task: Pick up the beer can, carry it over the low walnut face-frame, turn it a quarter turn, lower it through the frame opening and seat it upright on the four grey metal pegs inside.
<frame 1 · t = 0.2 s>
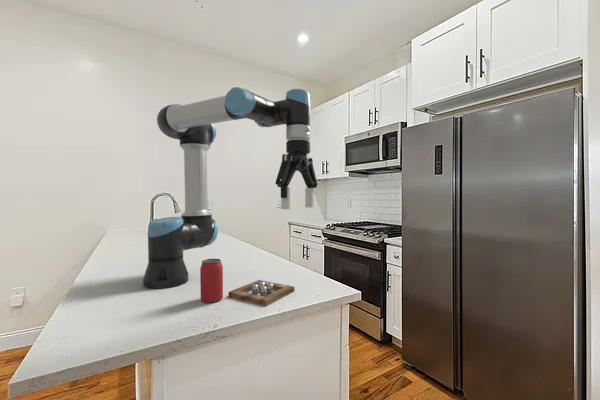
hand: (298, 208, 93), 28 cm above the counter, fingers open, 13 cm apart
peg stand: (262, 289, 95), in the face frame
face frame: (262, 293, 95), on the counter
beer can: (211, 300, 90), on the counter
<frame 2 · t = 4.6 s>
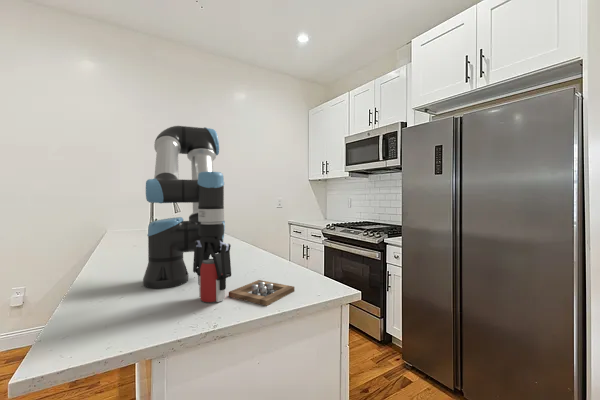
hand: (211, 298, 90), 0 cm above the counter, fingers closed on beer can, 7 cm apart
beer can: (211, 300, 90), on the counter, touching gripper
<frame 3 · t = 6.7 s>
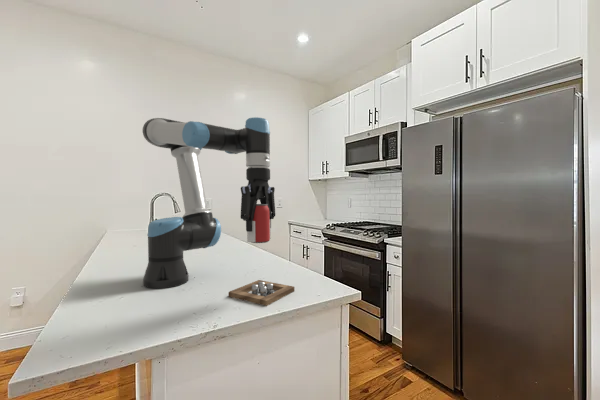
hand: (259, 240, 94), 17 cm above the counter, fingers closed on beer can, 7 cm apart
beer can: (259, 242, 94), point 17 cm above the counter, touching gripper
when the fingers open (4 cm above the counter, at t = 9.2 s): beer can stays where it is, resting on peg stand.
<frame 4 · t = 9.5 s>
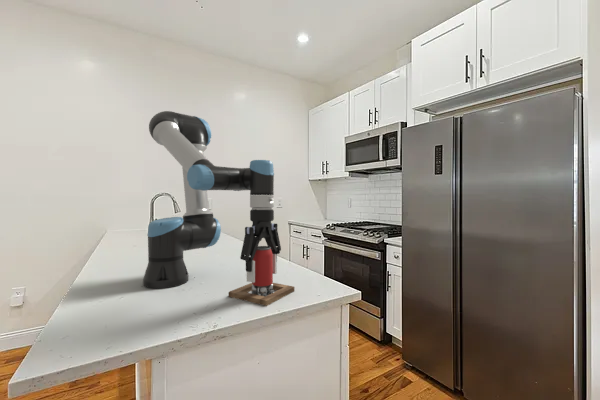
hand: (262, 277, 95), 5 cm above the counter, fingers open, 10 cm apart
beer can: (262, 285, 95), point 3 cm above the counter, touching peg stand
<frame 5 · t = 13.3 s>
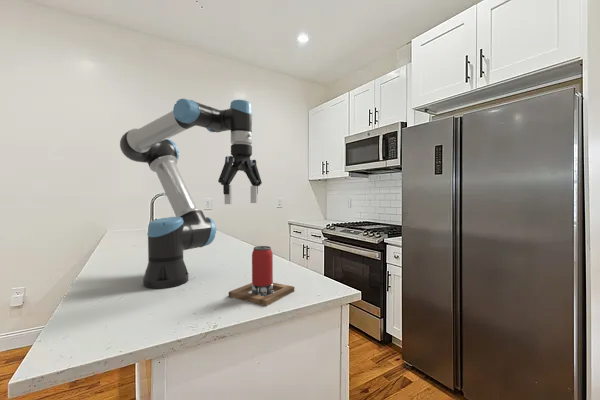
hand: (241, 203, 107), 29 cm above the counter, fingers open, 13 cm apart
nothing on the counter moved.
at the end: beer can 0.0 cm off-centre on the peg stand, point 2.8 cm above the peg stand's base; beer can tilted 0°; the gripper is holding nothing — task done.
